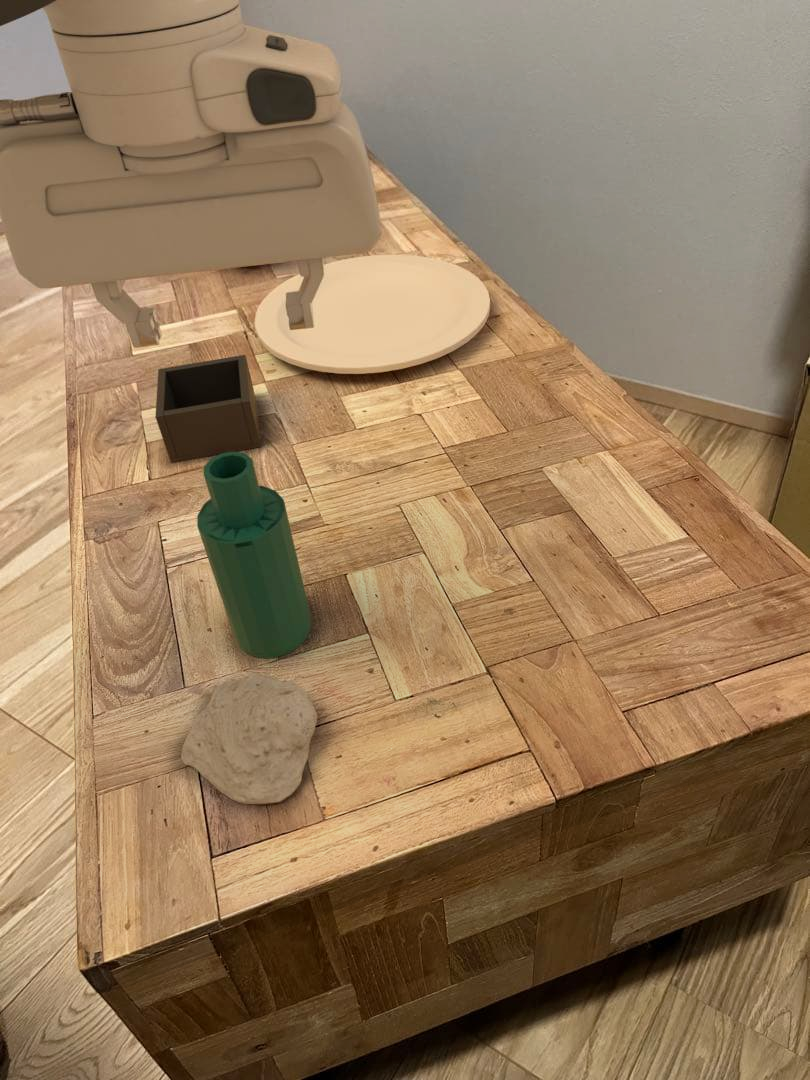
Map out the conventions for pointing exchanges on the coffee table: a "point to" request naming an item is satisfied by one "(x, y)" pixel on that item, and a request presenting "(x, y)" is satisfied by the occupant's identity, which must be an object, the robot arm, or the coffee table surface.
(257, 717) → the stone
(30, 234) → the robot arm
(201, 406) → the holder
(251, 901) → the coffee table surface
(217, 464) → the bottle
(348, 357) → the plate
